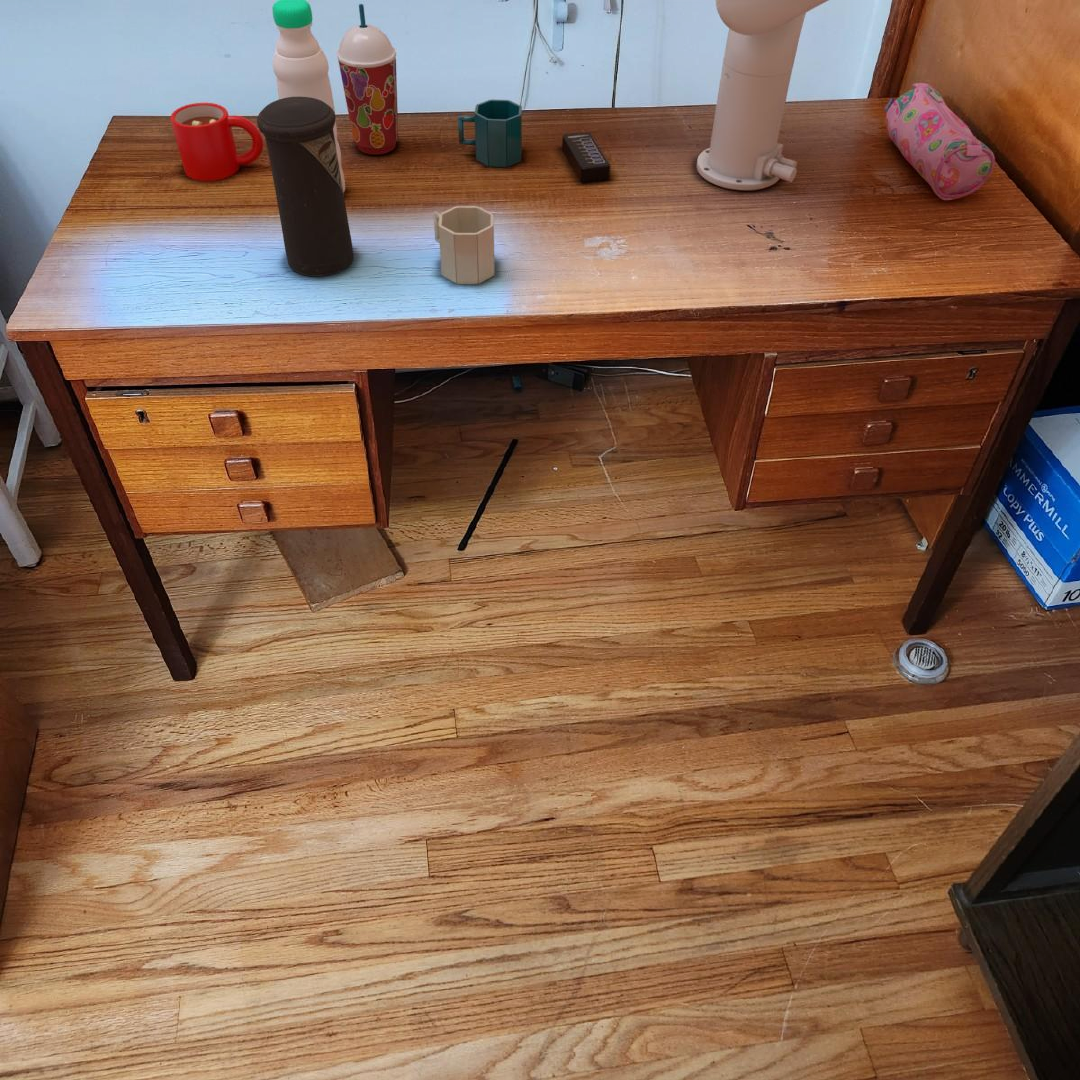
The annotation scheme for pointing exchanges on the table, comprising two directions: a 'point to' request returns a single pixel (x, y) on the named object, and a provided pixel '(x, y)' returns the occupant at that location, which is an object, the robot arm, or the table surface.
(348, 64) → the smoothie
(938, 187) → the pencil case
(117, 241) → the table surface
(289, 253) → the container
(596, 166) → the multiport hub
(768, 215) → the table surface
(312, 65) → the water bottle
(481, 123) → the cup far
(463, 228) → the cup near
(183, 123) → the mug
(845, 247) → the table surface
